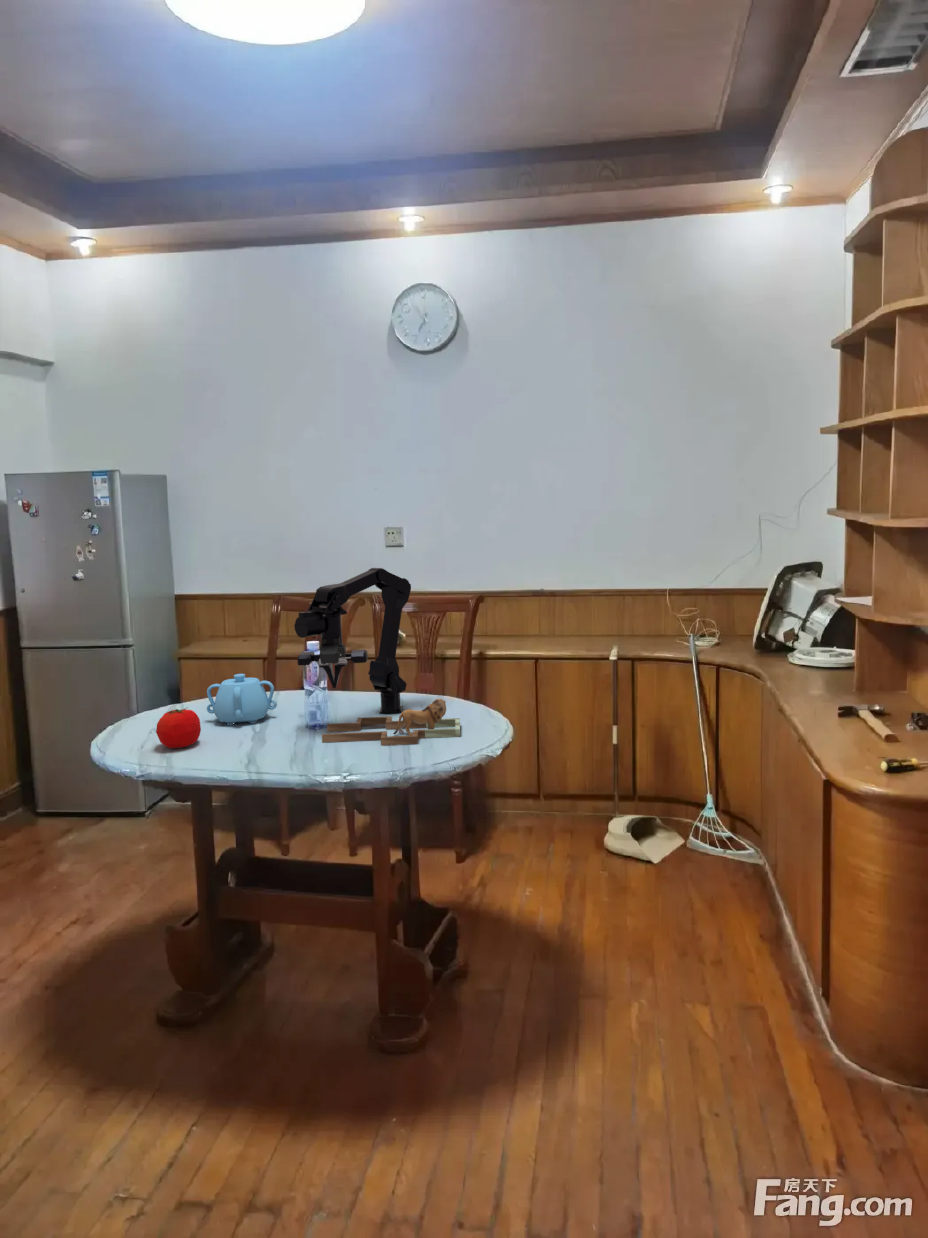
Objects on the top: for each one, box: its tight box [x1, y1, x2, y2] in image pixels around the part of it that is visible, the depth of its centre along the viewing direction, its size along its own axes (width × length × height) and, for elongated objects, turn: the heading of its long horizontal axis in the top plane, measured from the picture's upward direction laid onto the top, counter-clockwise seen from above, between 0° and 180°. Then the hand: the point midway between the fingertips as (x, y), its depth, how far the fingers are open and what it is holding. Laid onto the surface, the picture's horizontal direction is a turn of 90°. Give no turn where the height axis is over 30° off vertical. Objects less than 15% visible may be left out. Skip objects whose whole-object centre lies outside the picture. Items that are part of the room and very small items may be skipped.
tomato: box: [155, 706, 202, 749], centre depth 246 cm, size 11×13×10 cm
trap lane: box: [321, 716, 461, 747], centre depth 250 cm, size 22×36×2 cm, turn 91°
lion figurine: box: [392, 698, 447, 736], centre depth 249 cm, size 15×5×9 cm, turn 103°
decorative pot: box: [206, 673, 278, 725], centre depth 271 cm, size 16×16×14 cm
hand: (334, 687), depth 258 cm, fingers closed
